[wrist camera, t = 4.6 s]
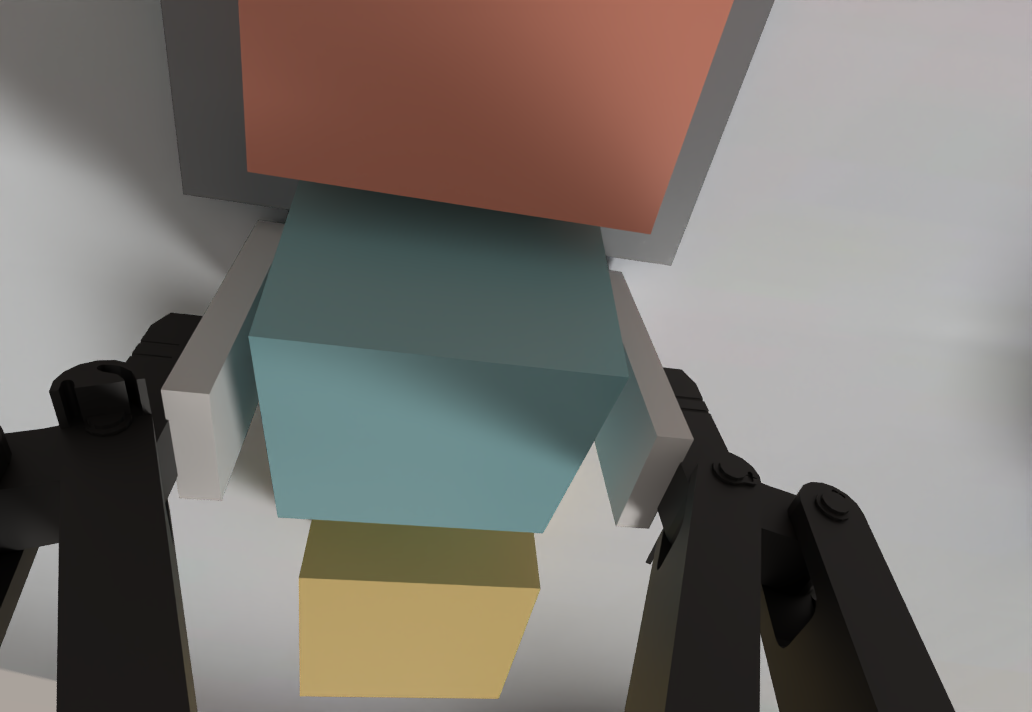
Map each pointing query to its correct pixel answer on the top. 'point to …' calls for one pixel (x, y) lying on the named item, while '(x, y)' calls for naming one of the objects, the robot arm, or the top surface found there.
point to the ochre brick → (412, 609)
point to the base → (465, 103)
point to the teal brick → (431, 360)
